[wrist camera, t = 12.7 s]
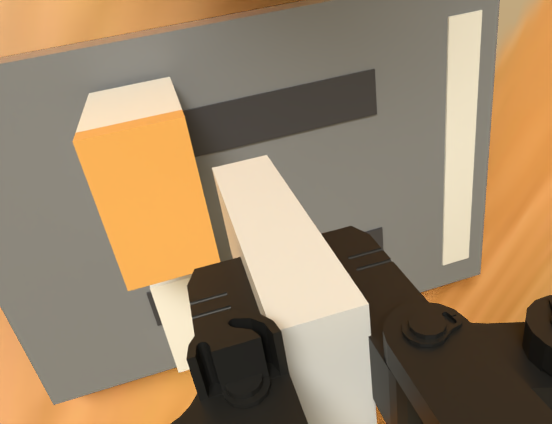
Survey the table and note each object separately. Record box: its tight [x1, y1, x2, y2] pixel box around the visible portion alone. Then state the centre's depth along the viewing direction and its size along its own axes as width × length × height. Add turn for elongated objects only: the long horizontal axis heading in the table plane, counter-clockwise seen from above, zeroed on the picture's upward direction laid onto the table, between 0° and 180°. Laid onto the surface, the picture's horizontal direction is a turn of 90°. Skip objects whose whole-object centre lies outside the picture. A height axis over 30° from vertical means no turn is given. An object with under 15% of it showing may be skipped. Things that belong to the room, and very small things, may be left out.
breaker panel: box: [0, 0, 500, 405], centre depth 22 cm, size 24×16×4 cm, turn 99°
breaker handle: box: [72, 77, 220, 291], centre depth 17 cm, size 3×5×6 cm, turn 9°
